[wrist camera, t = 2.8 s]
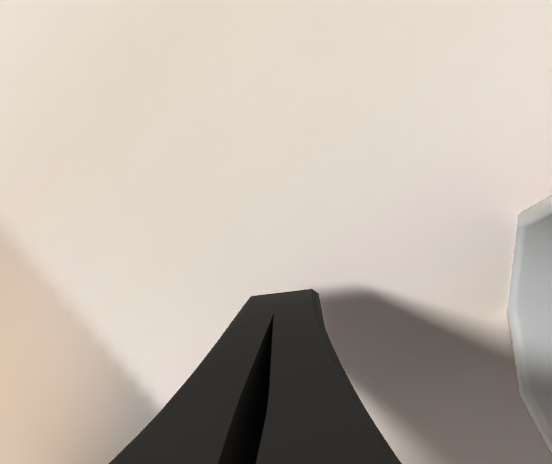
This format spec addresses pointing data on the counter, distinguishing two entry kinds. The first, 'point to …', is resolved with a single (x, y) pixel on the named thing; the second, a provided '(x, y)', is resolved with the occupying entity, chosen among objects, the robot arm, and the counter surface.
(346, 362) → the counter surface
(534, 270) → the tube
